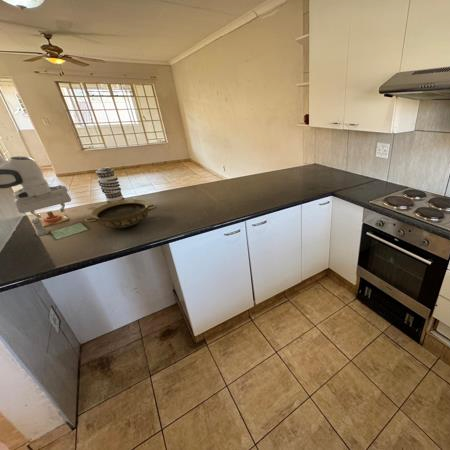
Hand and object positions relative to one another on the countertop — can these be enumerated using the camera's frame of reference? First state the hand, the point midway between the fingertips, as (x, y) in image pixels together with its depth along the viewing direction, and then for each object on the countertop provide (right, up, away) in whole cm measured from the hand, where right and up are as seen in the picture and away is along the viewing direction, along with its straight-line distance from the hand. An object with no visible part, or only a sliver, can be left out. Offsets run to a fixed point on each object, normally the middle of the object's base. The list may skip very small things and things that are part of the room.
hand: (51, 214), depth 129 cm
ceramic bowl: (+42, -6, -2) cm, 42 cm away
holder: (0, -4, +2) cm, 4 cm away
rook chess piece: (+6, -10, -10) cm, 15 cm away
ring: (0, -2, +1) cm, 2 cm away
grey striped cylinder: (+25, +3, +15) cm, 29 cm away
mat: (+17, -9, -8) cm, 20 cm away
